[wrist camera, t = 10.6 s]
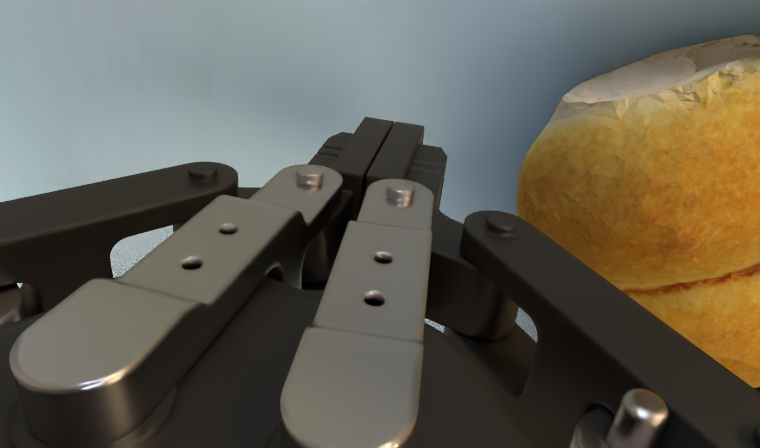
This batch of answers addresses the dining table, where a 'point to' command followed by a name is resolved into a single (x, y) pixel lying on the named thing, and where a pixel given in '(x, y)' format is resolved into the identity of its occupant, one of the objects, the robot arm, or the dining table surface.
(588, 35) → the dining table surface
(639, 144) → the bread roll
